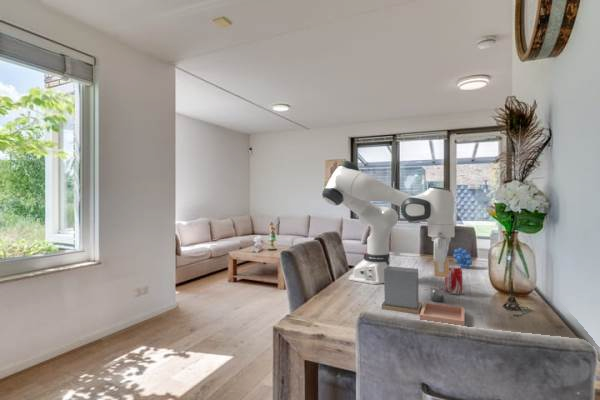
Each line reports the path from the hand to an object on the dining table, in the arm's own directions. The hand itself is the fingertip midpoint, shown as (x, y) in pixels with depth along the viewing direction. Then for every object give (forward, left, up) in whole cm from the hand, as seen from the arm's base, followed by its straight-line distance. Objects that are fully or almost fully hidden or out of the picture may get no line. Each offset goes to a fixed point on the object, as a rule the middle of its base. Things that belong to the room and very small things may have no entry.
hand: (441, 269), depth 113 cm
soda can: (+3, +33, -18) cm, 38 cm away
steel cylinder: (-3, +19, -18) cm, 26 cm away
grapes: (+6, +86, -18) cm, 88 cm away
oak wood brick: (0, 0, -2) cm, 2 cm away
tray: (0, 0, -18) cm, 18 cm away
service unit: (-15, +5, -18) cm, 24 cm away
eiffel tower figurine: (+24, +20, -18) cm, 36 cm away
